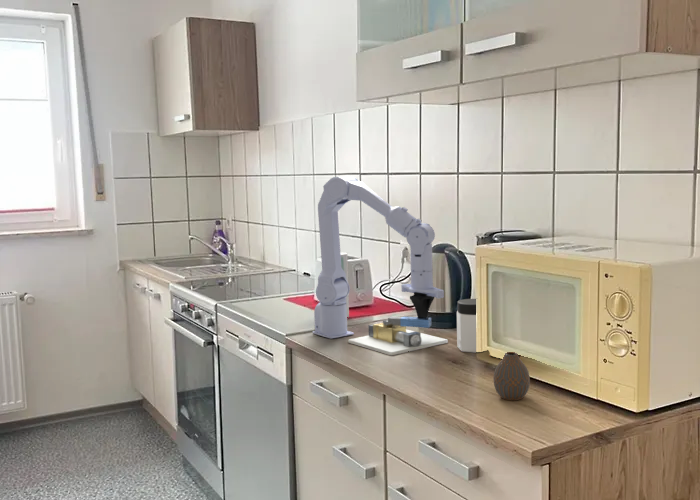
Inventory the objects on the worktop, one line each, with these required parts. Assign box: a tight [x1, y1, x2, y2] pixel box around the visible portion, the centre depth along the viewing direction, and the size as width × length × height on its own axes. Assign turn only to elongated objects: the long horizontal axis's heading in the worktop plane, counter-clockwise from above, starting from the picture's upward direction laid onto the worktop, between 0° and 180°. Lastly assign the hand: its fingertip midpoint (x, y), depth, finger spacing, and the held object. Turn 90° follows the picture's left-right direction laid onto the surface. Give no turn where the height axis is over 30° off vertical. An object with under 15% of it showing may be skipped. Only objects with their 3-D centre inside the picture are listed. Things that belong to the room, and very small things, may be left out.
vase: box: [493, 352, 531, 401], centre depth 135 cm, size 7×7×9 cm
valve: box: [367, 322, 422, 347], centre depth 181 cm, size 18×5×4 cm, turn 36°
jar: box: [456, 298, 477, 354], centre depth 173 cm, size 9×8×12 cm
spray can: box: [340, 252, 350, 318], centre depth 216 cm, size 6×6×20 cm
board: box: [347, 328, 449, 356], centre depth 182 cm, size 18×19×1 cm
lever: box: [382, 316, 432, 328], centre depth 181 cm, size 13×3×2 cm, turn 69°
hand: (422, 321), depth 182 cm, fingers closed, pressing on lever
